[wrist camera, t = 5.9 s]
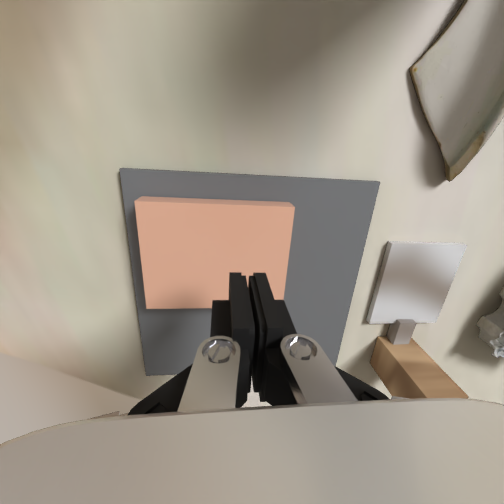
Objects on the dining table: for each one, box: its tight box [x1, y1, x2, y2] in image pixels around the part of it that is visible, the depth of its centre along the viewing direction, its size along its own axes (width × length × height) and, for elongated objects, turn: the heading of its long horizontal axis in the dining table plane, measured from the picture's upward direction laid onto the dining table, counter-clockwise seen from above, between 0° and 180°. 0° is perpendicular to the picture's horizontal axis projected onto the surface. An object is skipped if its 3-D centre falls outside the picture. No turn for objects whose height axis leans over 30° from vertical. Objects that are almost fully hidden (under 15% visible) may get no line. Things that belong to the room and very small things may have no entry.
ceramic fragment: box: [409, 0, 504, 182], centre depth 13 cm, size 14×5×4 cm, turn 174°
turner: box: [366, 241, 468, 399], centre depth 19 cm, size 12×6×6 cm, turn 177°
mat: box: [120, 168, 380, 376], centre depth 19 cm, size 16×16×1 cm
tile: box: [134, 196, 295, 309], centre depth 17 cm, size 2×7×9 cm
